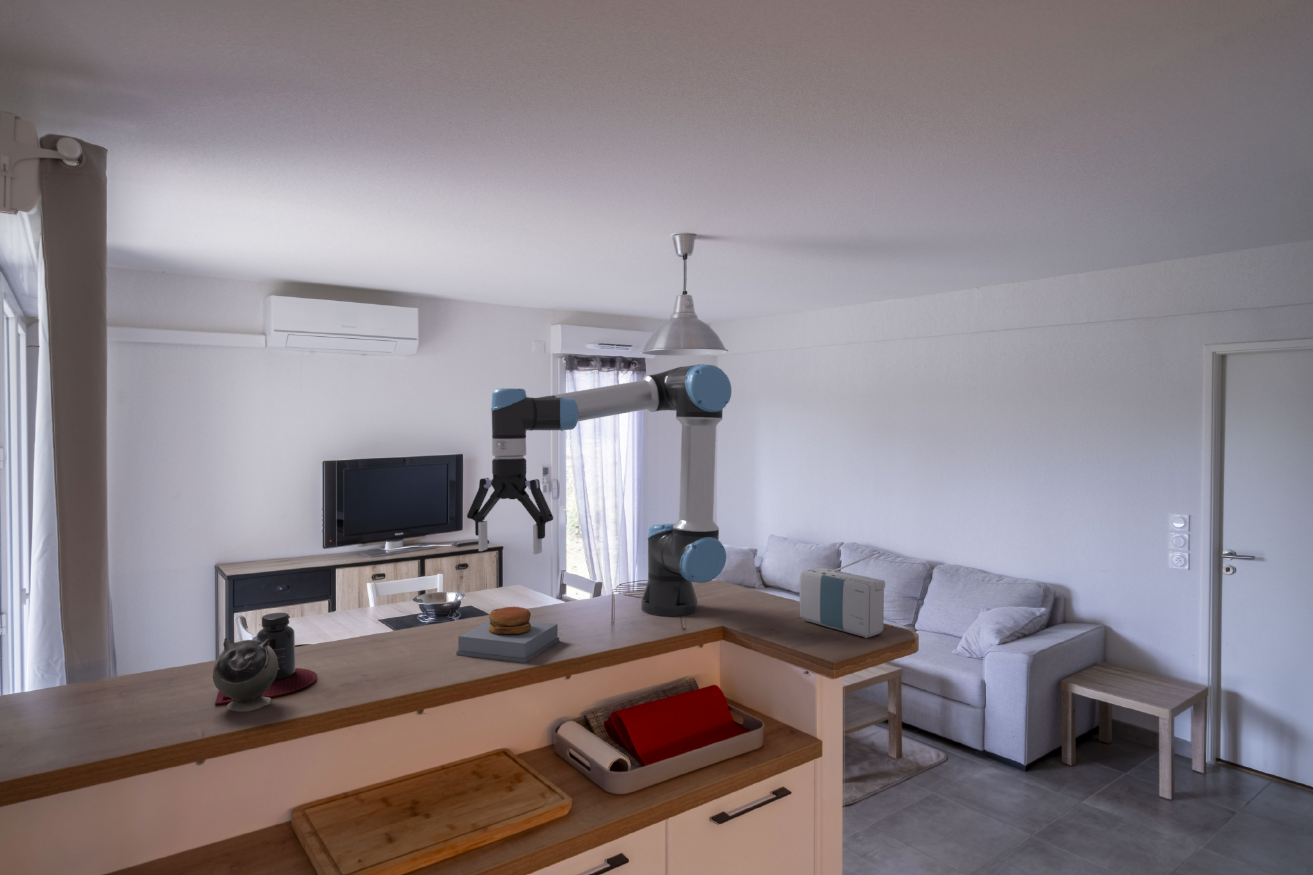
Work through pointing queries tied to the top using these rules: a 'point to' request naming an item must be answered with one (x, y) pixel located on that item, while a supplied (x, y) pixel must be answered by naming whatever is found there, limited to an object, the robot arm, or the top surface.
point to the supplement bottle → (280, 641)
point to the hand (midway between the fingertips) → (510, 551)
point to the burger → (509, 620)
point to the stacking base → (508, 642)
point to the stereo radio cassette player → (842, 600)
